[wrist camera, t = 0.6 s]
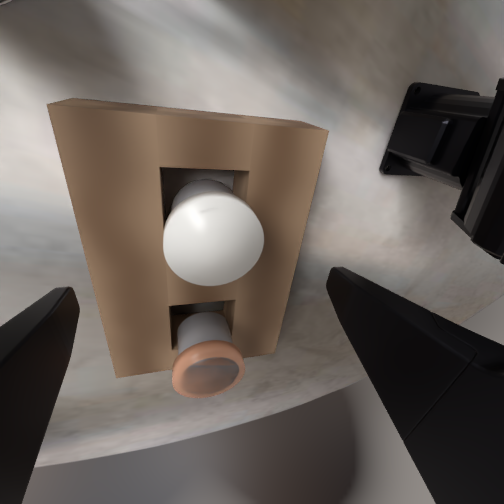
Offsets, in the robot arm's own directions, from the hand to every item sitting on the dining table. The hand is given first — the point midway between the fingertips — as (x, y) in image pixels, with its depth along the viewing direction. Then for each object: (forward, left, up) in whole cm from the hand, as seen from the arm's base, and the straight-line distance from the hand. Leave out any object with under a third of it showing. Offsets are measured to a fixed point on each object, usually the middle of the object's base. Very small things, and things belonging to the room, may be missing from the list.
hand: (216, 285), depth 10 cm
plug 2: (-1, +11, -7) cm, 13 cm away
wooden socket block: (-1, +6, -12) cm, 13 cm away
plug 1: (-1, +1, -8) cm, 8 cm away
